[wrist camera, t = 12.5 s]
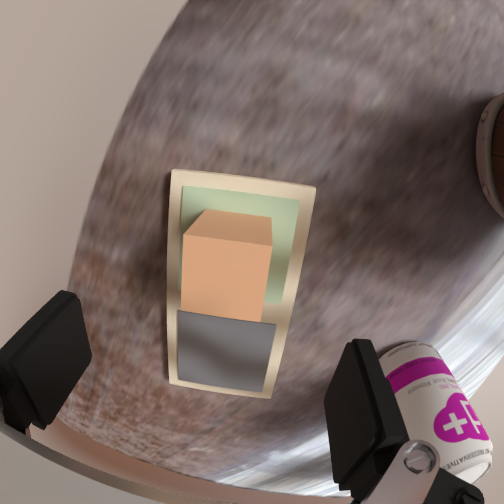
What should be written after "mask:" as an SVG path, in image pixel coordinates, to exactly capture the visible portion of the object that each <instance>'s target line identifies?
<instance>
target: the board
mask: <svg viewBox="0 0 504 504" xmlns="http://www.w3.org/2000/svg"><path fill="white" fill-rule="evenodd" d="M315 194H316V187H314V186H310V185H304V184H297V183H291V182H284V181H278V180H271V179H264V178H256V177H249V176H241V175H233V174H224V173H215V172H206V171H196V170H185V169H173V170H172V174H171V187H170V202H169V220H168V244H167V342H168V365H169V383H170V384H175V385H180V386H185V387H190V388H196V389H201V390H207V391H213V392H220V393H226V394H233V395H241V396H249V397H258V398H267V399H271V396H272V392H273V388H274V384H275V380H276V377H277V373H278V369H279V365H280V361H281V357H282V353H283V348H284V344H285V340H286V336H287V332H288V327H289V323H290V319H291V314H292V310H293V305H294V301H295V296H296V292H297V287H298V282H299V277H300V273H301V268H302V263H303V258H304V253H305V248H306V243H307V238H308V232H309V227H310V222H311V216H312V211H313V205H314V199H315ZM206 209H211V210H220V211H228V212H236V213H243V214H251V215H258V216H266V217H271V221H272V243H273V247H272V253H271V260H270V266H269V272H268V279H267V285H266V291H265V297H264V303H263V309H262V315H261V321H260V322H255V321H247V320H239V319H232V318H225V317H219V316H212V315H205V314H199V313H193V312H187V311H181V283H182V255H183V234H184V233H185V232H186V231H187V230H188V229H189V228H190V226H191V225H192V224H193V223H194V222H195V221H196V220H197V219H198V217H199V216H200V215H201V214H202V213H203V212H204V211H205V210H206Z"/></svg>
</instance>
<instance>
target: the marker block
mask: <svg viewBox="0 0 504 504" xmlns="http://www.w3.org/2000/svg"><path fill="white" fill-rule="evenodd" d="M272 247H273V243H272V221H271V217H266V216H258V215H251V214H243V213H236V212H228V211H220V210H211V209H206V210H205V211H204V212H203V213H202V214H201V215H200V216H199V217H198V219H197V220H196V221H195V222H194V223H193V224H192V225H191V226H190V228H189V229H188V230H187V231H186V232H185V233H184V234H183V255H182V283H181V311H187V312H193V313H199V314H205V315H212V316H219V317H225V318H232V319H239V320H247V321H255V322H260V321H261V315H262V309H263V303H264V297H265V291H266V285H267V279H268V272H269V266H270V260H271V253H272Z"/></svg>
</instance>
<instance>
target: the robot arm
mask: <svg viewBox="0 0 504 504" xmlns="http://www.w3.org/2000/svg"><path fill="white" fill-rule="evenodd" d="M91 358H92V353H91V349H90V345H89V341H88V337H87V332H86V328H85V323H84V318H83V313H82V308H81V303H80V300H79V299H78V298H77V296H76V294H75V293H72V292H68V291H64V290H61V291H59V292H58V293H57V294H56V295H55V296H54V297H53V298H52V299H51V300H49V301H48V302H47V303H46V304H45V305H44V306H43V307H42V308H41V309H40V310H39V311H38V312H37V313H36V314H35V315H34V316H33V317H32V318H31V319H30V320H28V321H27V322H26V323H25V325H23V326H22V328H21V329H19V330H18V332H16V334H15V335H14V336H13V337H12V338H11V339H10V340H9V341H8V342H7V343H6V344H5V345H4V346H3V347H2V348H1V349H0V504H236V503H228V502H221V501H214V500H208V499H202V498H196V497H191V496H186V495H182V494H177V493H172V492H168V491H164V490H160V489H156V488H153V487H149V486H146V485H142V484H139V483H135V482H132V481H128V480H126V479H123V478H119V477H117V476H114V475H111V474H108V473H106V472H103V471H100V470H98V469H95V468H93V467H90V466H88V465H85V464H83V463H80V462H78V461H76V460H74V459H71V458H69V457H67V456H65V455H63V454H60V453H58V452H56V451H54V450H52V449H50V448H48V447H46V446H44V445H42V444H41V443H39V442H37V441H35V440H33V439H31V435H30V430H29V425H30V424H31V422H32V424H33V425H35V426H37V427H38V428H40V429H43V430H45V428H46V426H47V425H50V424H51V423H52V422H53V420H54V419H55V417H56V415H57V414H58V412H59V410H60V409H61V407H62V405H63V404H64V402H65V401H66V399H67V397H68V396H69V394H70V393H71V391H72V390H73V388H74V386H75V385H76V383H77V382H78V380H79V379H80V377H81V376H82V374H83V373H84V371H85V370H86V368H87V367H88V365H89V364H90V362H91ZM324 406H325V414H326V421H327V429H328V437H329V445H330V453H331V462H332V471H333V480H334V482H335V483H339V491H344V490H350V491H351V497H353V498H352V500H351V501H350V502H349V503H348V504H484V497H483V494H482V493H481V491H480V490H479V489H478V488H477V487H475V486H474V485H472V484H470V483H468V482H466V481H464V480H462V479H460V478H459V477H457V476H455V475H453V474H451V473H450V472H448V471H446V470H444V469H443V468H441V467H440V455H439V453H438V451H437V449H436V448H435V447H434V446H433V445H432V444H430V443H429V442H426V441H424V440H417V439H415V440H410V438H409V435H408V432H407V429H406V426H405V423H404V420H403V417H402V414H401V411H400V408H399V406H398V403H397V400H396V397H395V394H394V392H393V389H392V386H391V384H390V381H389V380H388V379H387V378H386V377H385V375H384V373H383V370H382V367H381V365H380V362H379V360H378V357H377V354H376V352H375V349H374V347H373V344H372V342H371V340H369V339H353V340H352V342H351V343H350V342H348V343H347V344H346V346H345V348H344V351H343V354H342V356H341V359H340V361H339V364H338V366H337V369H336V371H335V373H334V376H333V378H332V380H331V383H330V385H329V387H328V390H327V392H326V394H325V398H324Z"/></svg>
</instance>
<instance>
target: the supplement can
mask: <svg viewBox="0 0 504 504" xmlns="http://www.w3.org/2000/svg"><path fill="white" fill-rule="evenodd" d="M379 362H380V365H381V367H382V370H383V373H384V375H385V377H386V378H387V379H388V380H389V381H390V384H391V386H392V389H393V392H394V394H395V397H396V400H397V403H398V406H399V408H400V411H401V414H402V417H403V420H404V423H405V426H406V429H407V432H408V435H409V438H410V440H415V439H417V440H424V441H426V442H429V443H430V444H432V445H433V446H434V447H435V448H436V449H437V451H438V453H439V455H440V467H441V468H443V469H444V470H446V471H448V472H450V473H451V474H453V475H455V476H457V477H459V478H460V479H462V480H464V481H466V482H468V483H470V484H472V485H474V484H475V483H476V482H477V481H479V480H480V479H481V478H482V477H483V476H484V475H485V474H486V473H487V472H488V471H489V470H490V468H491V466H492V461H491V458H492V447H493V445H492V443H491V441H490V439H489V437H488V435H487V433H486V432H485V430H484V428H483V426H482V424H481V422H480V421H479V419H478V417H477V415H476V413H475V412H474V410H473V408H472V407H471V405H470V403H469V401H468V400H467V398H466V396H465V395H464V393H463V391H462V390H461V388H460V386H459V385H458V383H457V381H456V380H455V378H454V377H453V375H452V373H451V372H450V370H449V369H448V367H447V366H446V364H445V363H444V361H443V359H442V358H441V356H440V355H439V353H438V352H437V351H436V349H435V348H434V347H433V346H432V345H431V344H428V343H425V342H423V341H422V342H409V343H405V344H402V345H399V346H396V347H394V348H393V349H391V350H390V351H388V352H386V353H385V354H384V355H383V356H382V357H381V358H380V359H379Z"/></svg>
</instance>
